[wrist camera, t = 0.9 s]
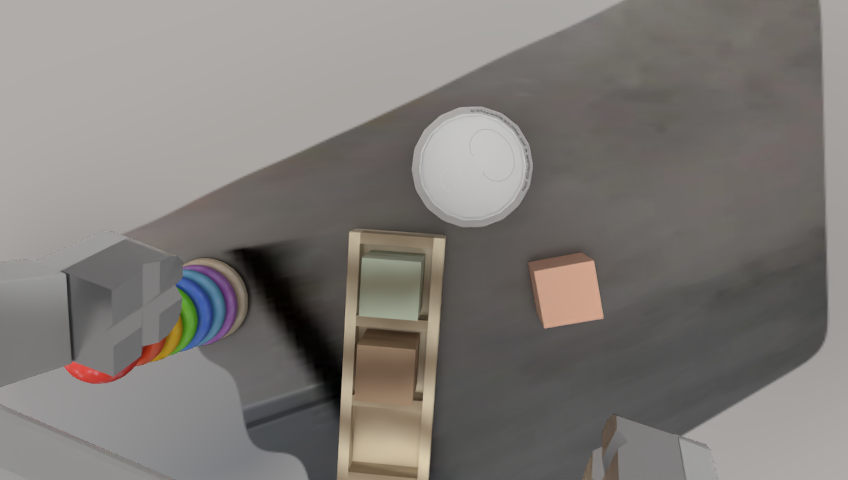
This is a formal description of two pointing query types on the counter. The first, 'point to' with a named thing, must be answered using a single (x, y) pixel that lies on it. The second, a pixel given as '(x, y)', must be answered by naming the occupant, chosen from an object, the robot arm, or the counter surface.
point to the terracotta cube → (565, 290)
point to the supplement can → (472, 166)
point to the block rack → (390, 354)
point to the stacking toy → (191, 316)
